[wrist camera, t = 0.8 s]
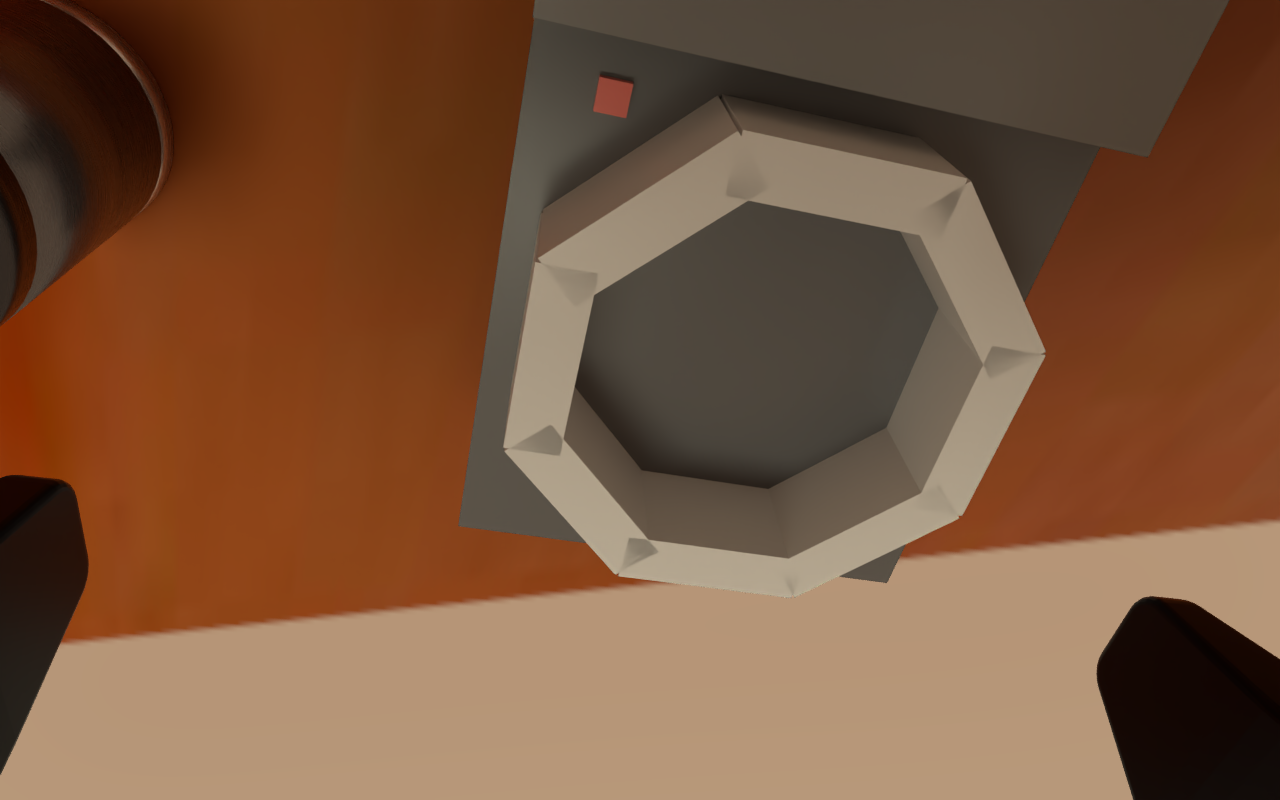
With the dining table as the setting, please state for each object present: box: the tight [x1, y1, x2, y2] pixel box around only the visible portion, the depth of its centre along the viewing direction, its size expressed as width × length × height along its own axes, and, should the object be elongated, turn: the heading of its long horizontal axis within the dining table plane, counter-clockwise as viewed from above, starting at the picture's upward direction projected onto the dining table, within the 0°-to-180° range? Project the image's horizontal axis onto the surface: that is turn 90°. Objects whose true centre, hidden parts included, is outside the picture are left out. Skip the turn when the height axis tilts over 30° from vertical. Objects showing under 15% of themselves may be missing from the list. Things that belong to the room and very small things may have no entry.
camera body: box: [458, 0, 1229, 598], centre depth 16 cm, size 9×12×6 cm
